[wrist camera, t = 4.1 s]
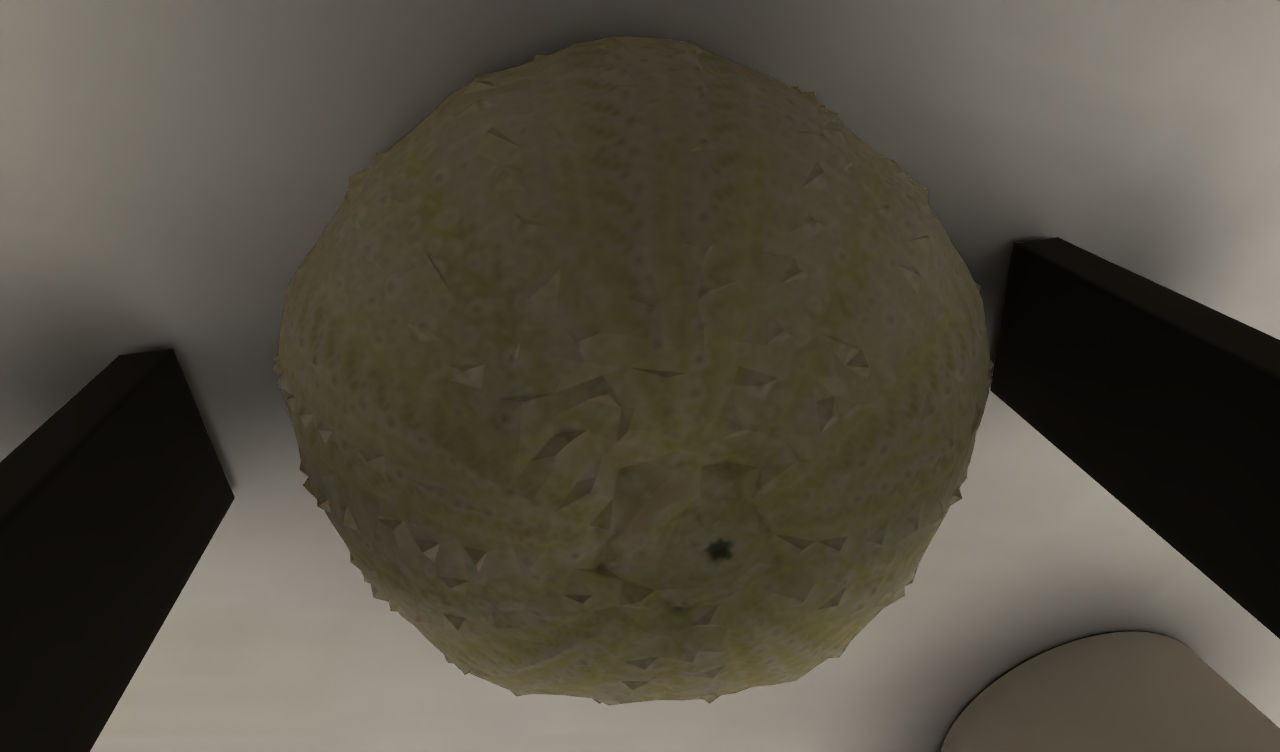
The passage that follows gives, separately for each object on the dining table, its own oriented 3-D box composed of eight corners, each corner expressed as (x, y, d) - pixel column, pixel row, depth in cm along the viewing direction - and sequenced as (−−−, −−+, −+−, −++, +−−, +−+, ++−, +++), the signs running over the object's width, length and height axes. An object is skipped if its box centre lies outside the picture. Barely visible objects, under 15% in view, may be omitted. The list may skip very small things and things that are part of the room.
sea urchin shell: (693, -250, 7) (1380, 465, 5) (795, 133, 14) (1080, 486, 12) (51, 319, 9) (307, 1069, 6) (439, 402, 16) (626, 759, 14)
